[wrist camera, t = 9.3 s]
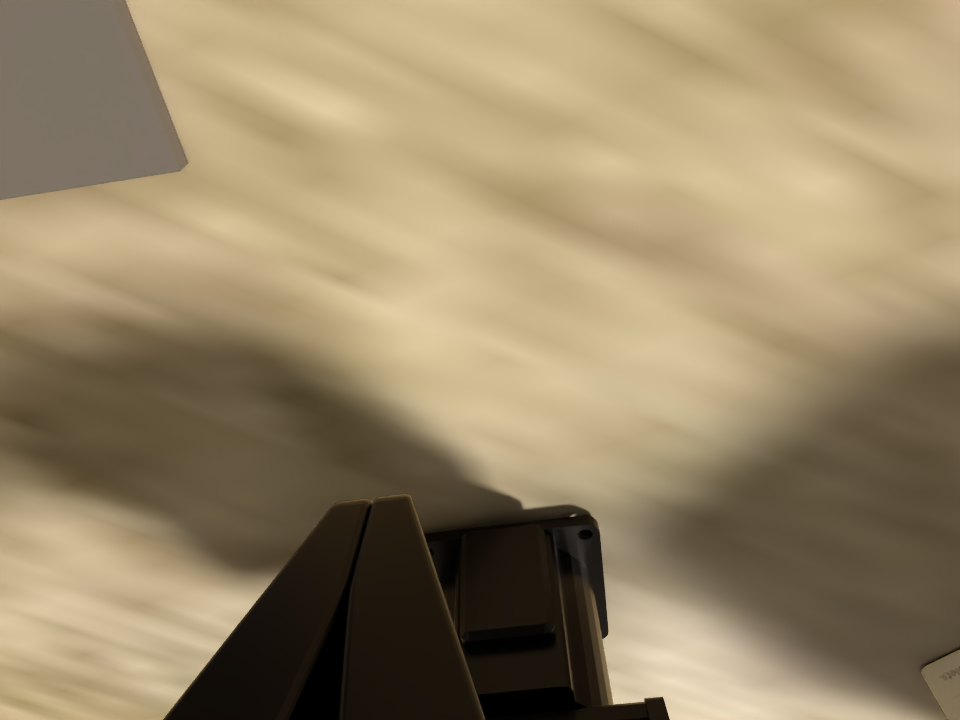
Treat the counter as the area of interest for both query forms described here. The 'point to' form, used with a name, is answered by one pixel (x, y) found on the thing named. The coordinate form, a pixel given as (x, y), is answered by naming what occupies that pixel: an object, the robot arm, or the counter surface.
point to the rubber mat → (78, 99)
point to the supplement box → (945, 683)
